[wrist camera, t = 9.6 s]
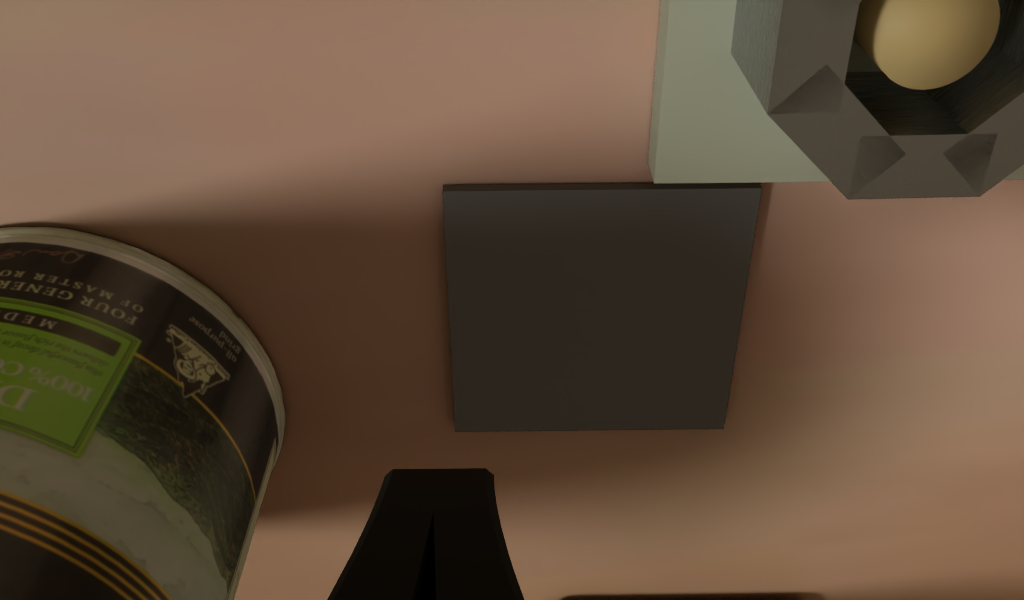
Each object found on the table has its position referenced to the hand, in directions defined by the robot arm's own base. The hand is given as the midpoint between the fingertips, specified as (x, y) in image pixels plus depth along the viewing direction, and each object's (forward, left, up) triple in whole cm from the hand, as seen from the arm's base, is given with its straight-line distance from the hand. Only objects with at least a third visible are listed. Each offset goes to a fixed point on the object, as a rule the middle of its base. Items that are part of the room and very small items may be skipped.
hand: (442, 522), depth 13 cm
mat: (-4, -3, -10) cm, 11 cm away
